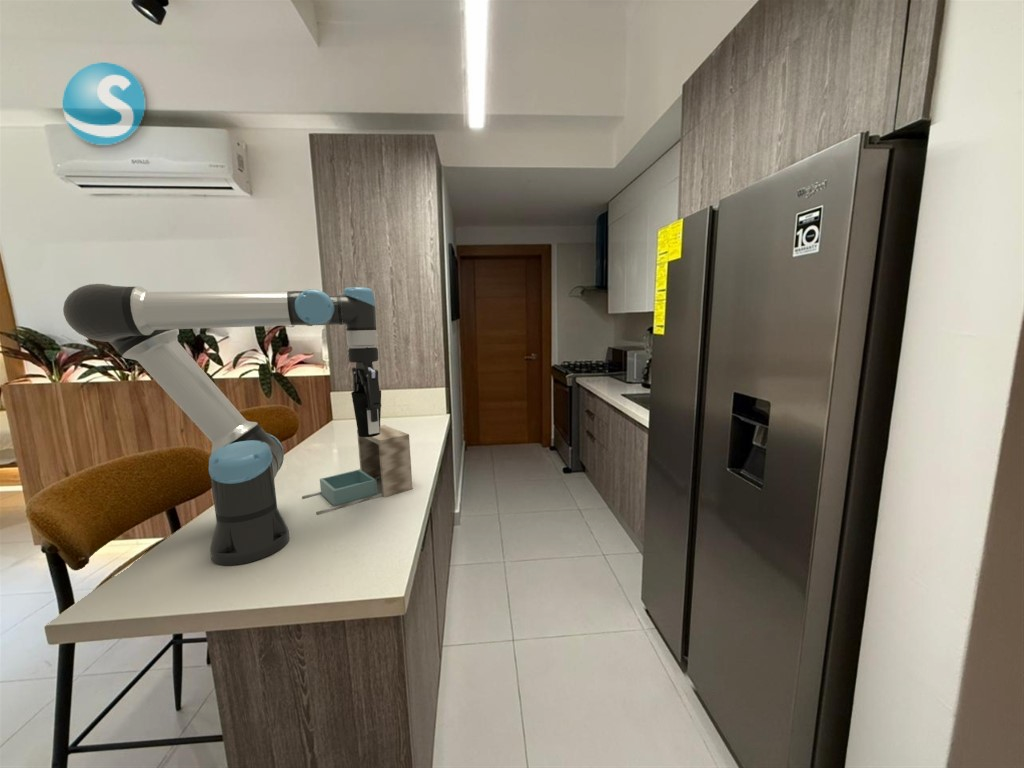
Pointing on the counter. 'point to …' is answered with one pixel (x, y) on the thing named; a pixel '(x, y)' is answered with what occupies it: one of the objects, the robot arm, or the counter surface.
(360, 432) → the cup
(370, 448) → the sliding drawer cabinet
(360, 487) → the tray
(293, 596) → the counter surface
